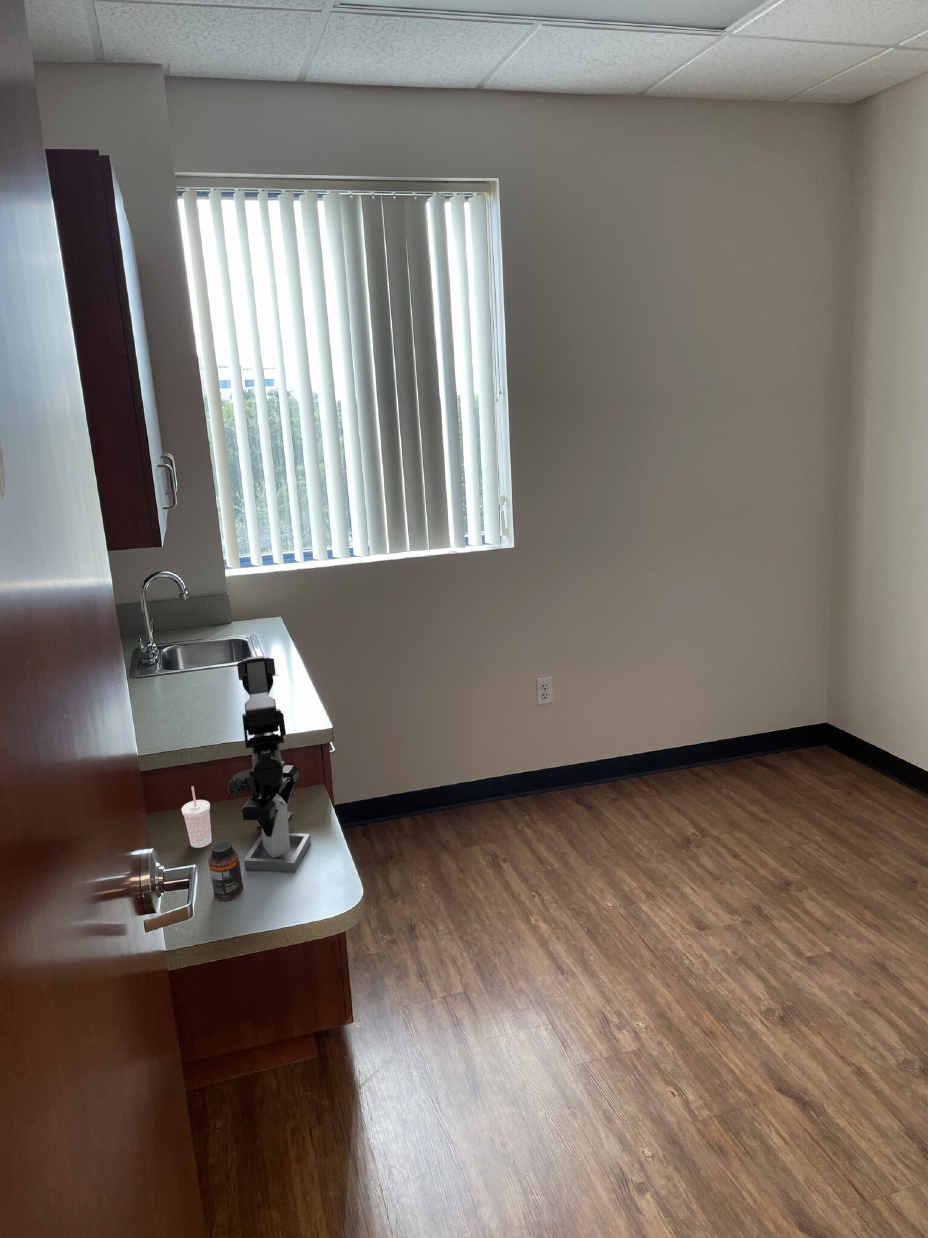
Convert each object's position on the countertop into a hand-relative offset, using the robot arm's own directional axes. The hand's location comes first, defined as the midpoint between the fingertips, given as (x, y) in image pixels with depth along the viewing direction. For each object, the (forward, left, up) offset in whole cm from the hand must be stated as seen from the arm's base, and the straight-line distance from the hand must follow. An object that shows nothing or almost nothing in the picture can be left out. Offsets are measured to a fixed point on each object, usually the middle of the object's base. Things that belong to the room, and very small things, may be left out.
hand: (275, 826), depth 182 cm
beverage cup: (-4, -20, -8) cm, 22 cm away
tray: (0, 0, -7) cm, 7 cm away
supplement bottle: (+13, -6, -8) cm, 16 cm away
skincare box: (0, 0, -6) cm, 6 cm away
